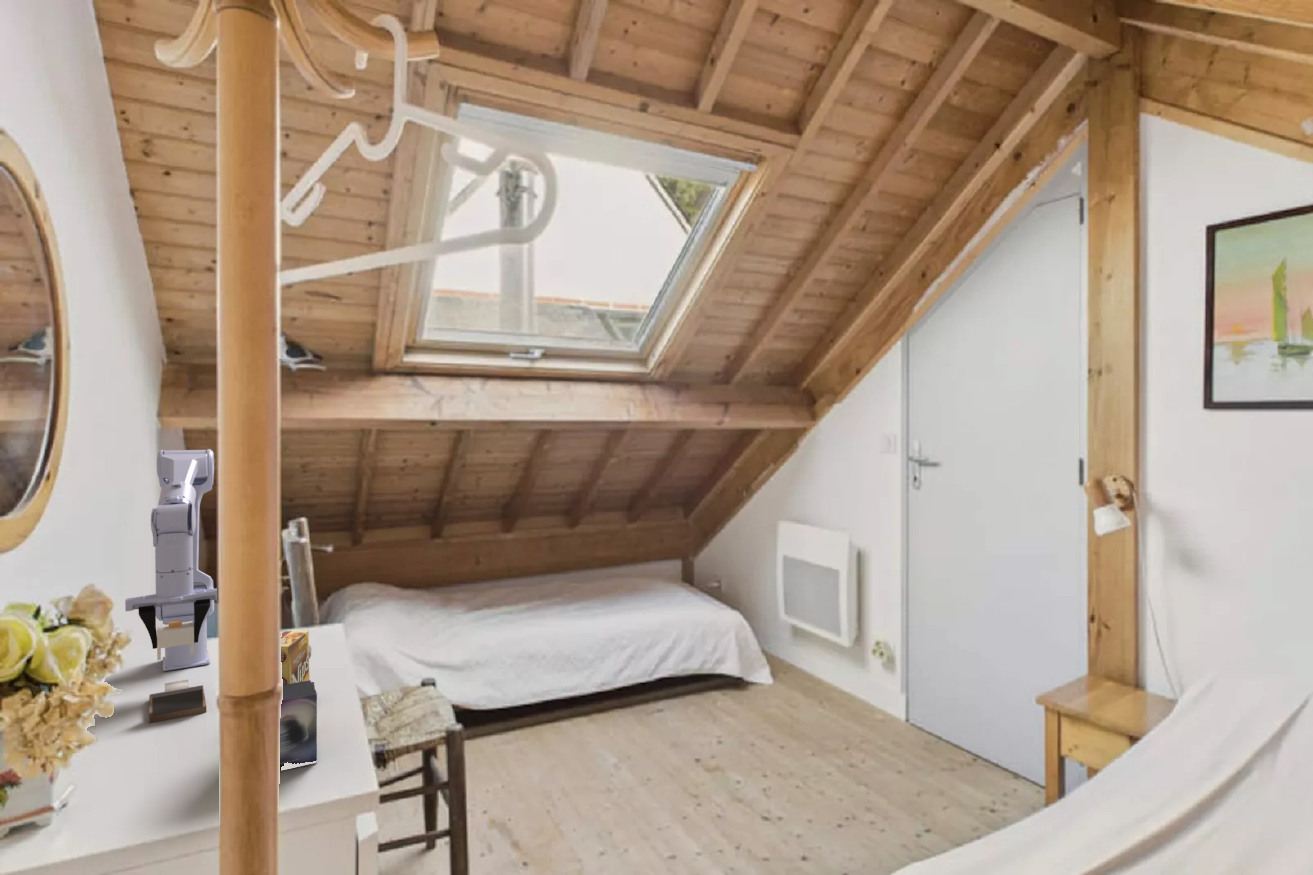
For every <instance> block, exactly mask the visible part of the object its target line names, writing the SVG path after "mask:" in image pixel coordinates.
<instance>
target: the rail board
mask: <svg viewBox="0 0 1313 875" xmlns="http://www.w3.org/2000/svg"><path fill="white" fill-rule="evenodd" d="M148 697H149V699H148V724H152V723H157V722H162V721H167V720H172V719H178V718H182V717H188V716H193V715H198V714H203V713H207V702H206V696H205V689H204V685H203V684H201V685H196V686H190V684H189V679H185V680H184V679H183V680H179V681H178V680H177V681H171V682H165V683H164V691H161V692H156V693H151V694H149V696H148Z"/></svg>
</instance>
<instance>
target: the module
mask: <svg viewBox="0 0 1313 875" xmlns="http://www.w3.org/2000/svg"><path fill="white" fill-rule="evenodd" d="M156 633H157V648H156V650H157V655H156V656H157V661H160V660H162V652H161V651H162V650H161V649H165V648H167V647H173V646H180V645H187V644H190V652H191V655H194V625H193V621H189V622H182V620H180V621H172V622H169V624H167V625H165V624H161V625H156Z"/></svg>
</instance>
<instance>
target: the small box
mask: <svg viewBox="0 0 1313 875" xmlns="http://www.w3.org/2000/svg"><path fill="white" fill-rule="evenodd" d="M312 682H313V681H312V680H310V679H309V681H303V682H298V683H292V684H286V685H283V700H282V704H281V718H280V771H281V767H282V766H284V763H287V762H288V763H292V764H294V763H295V764H297V763H299V764H300V763H305V762H313V761H316V760H317V761H318V757H317V756H318V749H317V748H318V744H317V743H318V742H317V741H318V738H317V737H318V732H317V730H318V727H317V726H318V724H317V722H318V721H317V719H318V718H317V717H318V716H317V715H318V713H317V712H318V711H317V710H318V707H317V706H318V702H317V701H318V693H317V691H316V688H314V686H315V685H314V686H313V684H312ZM281 772H282V771H281Z"/></svg>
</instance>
